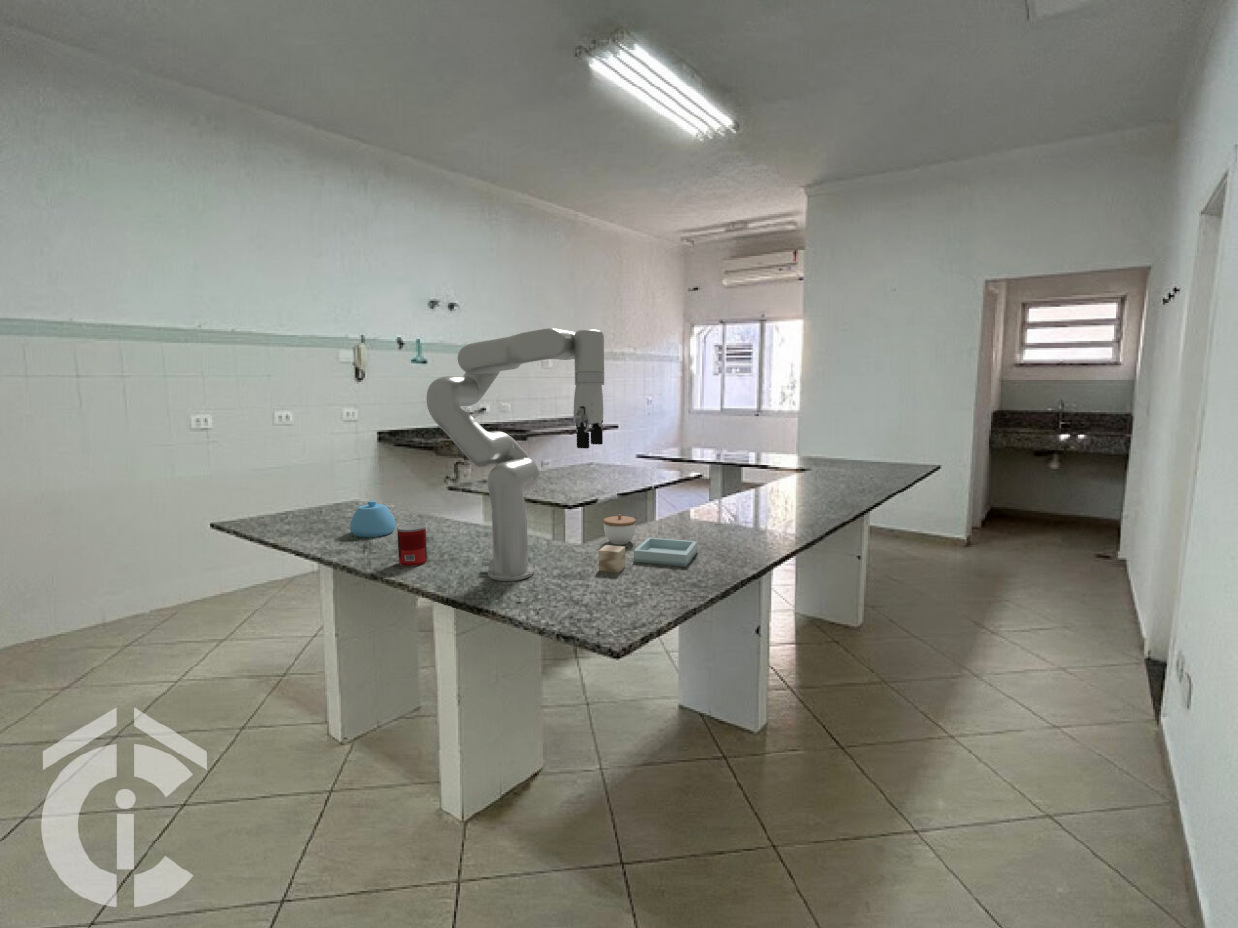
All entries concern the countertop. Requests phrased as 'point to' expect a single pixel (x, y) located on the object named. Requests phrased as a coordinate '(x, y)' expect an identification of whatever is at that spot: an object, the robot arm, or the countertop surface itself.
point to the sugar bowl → (372, 520)
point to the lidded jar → (619, 529)
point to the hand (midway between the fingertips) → (590, 446)
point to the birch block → (611, 558)
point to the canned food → (412, 544)
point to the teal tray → (665, 551)
